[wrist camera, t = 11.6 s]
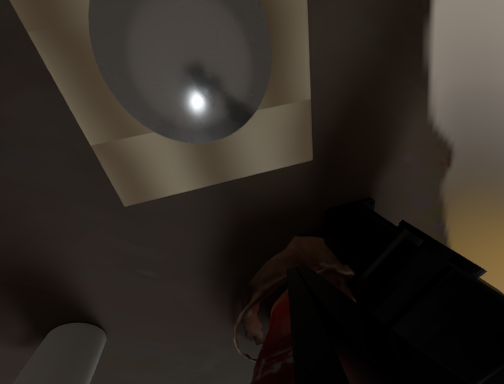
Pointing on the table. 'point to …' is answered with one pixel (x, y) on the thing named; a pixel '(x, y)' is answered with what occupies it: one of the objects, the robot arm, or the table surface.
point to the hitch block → (164, 149)
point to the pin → (183, 62)
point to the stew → (284, 305)
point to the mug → (65, 356)
